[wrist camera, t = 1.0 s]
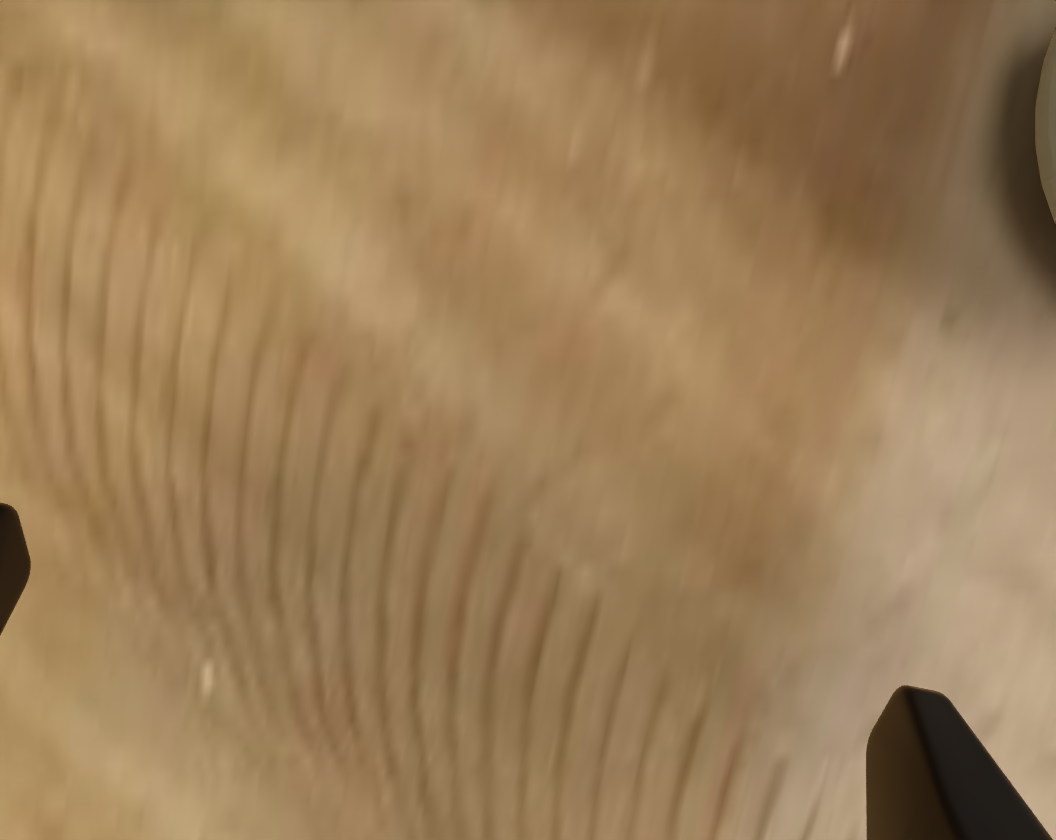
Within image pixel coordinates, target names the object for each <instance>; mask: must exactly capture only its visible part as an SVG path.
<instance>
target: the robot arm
mask: <svg viewBox="0 0 1056 840" xmlns="http://www.w3.org/2000/svg"><path fill="white" fill-rule="evenodd" d="M30 569H31V561H30V556H29V552H28V549H27V545H26V541H25V538H24V534H23V530H22V527H21V523H20V519H19V516H18V513H17V511H16V510H15V509H14V508H13V507H12V506H10V505H8V504H4V503H0V635H1V633H2V631H3V629H4V627H5V625H6V623H7V621H8V619H9V617H10V615H11V613H12V611H13V609H14V607H15V605H16V604H17V602H18V600H19V598H20V596H21V594H22V592H23V590H24V588H25V586H26V583H27V581H28V578H29V575H30ZM866 800H867V840H1053V839H1052V838H1051V837H1050V835H1049V834H1048V832H1047V831H1046V830H1045V828H1044V827H1043V826H1042V824H1041V823H1040V822H1039V820H1038V819H1037V818H1036V816H1035V815H1034V814H1033V812H1032V811H1031V809H1030V808H1029V807H1028V805H1027V804H1026V803H1025V801H1024V800H1023V799H1022V797H1021V796H1020V795H1019V793H1018V792H1017V791H1016V789H1015V788H1014V787H1013V785H1012V784H1011V782H1010V781H1009V780H1008V778H1007V777H1006V776H1005V774H1004V773H1003V772H1002V770H1001V769H1000V768H999V766H998V765H997V764H996V762H995V761H994V759H993V758H992V757H991V755H990V754H989V753H988V751H987V750H986V749H985V747H984V746H983V745H982V743H981V742H980V741H979V739H978V738H977V737H976V735H975V734H974V732H973V731H972V730H971V728H970V727H969V726H968V724H967V723H966V722H965V720H964V719H963V718H962V716H961V715H960V714H959V712H958V711H957V710H956V708H955V707H954V705H953V704H952V703H951V701H950V700H949V699H948V698H947V697H946V696H944V695H943V694H942V693H940V692H937V691H933V690H928V689H923V688H918V687H913V686H908V685H907V686H901V687H899V688H898V689H896V691H895V692H894V693H893V695H892V697H891V698H890V700H889V702H888V703H887V705H886V707H885V709H884V710H883V712H882V714H881V716H880V717H879V719H878V721H877V723H876V724H875V726H874V728H873V729H872V732H871V734H870V736H869V739H868V744H867V751H866Z"/></svg>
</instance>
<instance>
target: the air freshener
mask: <svg viewBox="0 0 1056 840" xmlns="http://www.w3.org/2000/svg"><path fill="white" fill-rule="evenodd" d="M1035 147H1036V154H1037V160H1038V166H1039V172H1040V179H1041V184H1042V187H1043V190H1044V193H1045V196H1046V199H1047V202H1048V205H1049V208H1050V211H1051V214H1052V217H1053V219H1054V222H1055V224H1056V28H1055V30H1054V33H1053V36H1052V39H1051V42H1050V45H1049V47H1048V50H1047V53H1046V56H1045V59H1044V62H1043V66H1042V72H1041V77H1040V83H1039V89H1038V94H1037V100H1036V109H1035Z"/></svg>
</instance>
